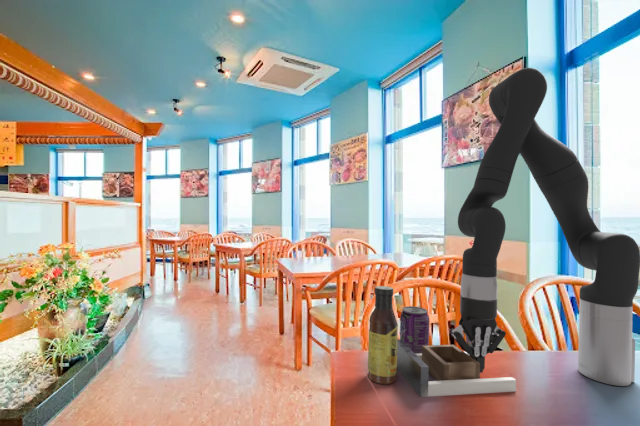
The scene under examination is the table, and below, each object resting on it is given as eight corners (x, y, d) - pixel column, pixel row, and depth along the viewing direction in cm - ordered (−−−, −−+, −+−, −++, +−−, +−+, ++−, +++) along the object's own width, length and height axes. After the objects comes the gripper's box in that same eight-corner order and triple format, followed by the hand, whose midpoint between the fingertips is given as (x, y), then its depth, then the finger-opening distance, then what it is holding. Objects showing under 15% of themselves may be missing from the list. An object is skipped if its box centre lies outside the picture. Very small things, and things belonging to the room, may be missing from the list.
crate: (452, 365, 78) (453, 344, 78) (479, 387, 68) (480, 363, 68) (421, 366, 76) (422, 345, 76) (444, 389, 67) (444, 365, 67)
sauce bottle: (397, 388, 67) (399, 292, 67) (366, 384, 68) (369, 289, 68) (396, 373, 73) (398, 285, 74) (368, 369, 75) (370, 283, 75)
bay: (473, 361, 81) (473, 337, 81) (516, 392, 67) (516, 362, 67) (393, 364, 78) (393, 339, 78) (420, 397, 64) (421, 367, 64)
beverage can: (403, 348, 87) (405, 304, 87) (431, 355, 84) (432, 308, 84) (395, 358, 81) (397, 310, 81) (424, 365, 78) (425, 315, 78)
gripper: (493, 290, 78) (492, 362, 78) (442, 291, 76) (440, 364, 76) (517, 298, 71) (515, 378, 70) (461, 299, 69) (459, 381, 68)
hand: (476, 371), depth 73 cm, fingers closed
